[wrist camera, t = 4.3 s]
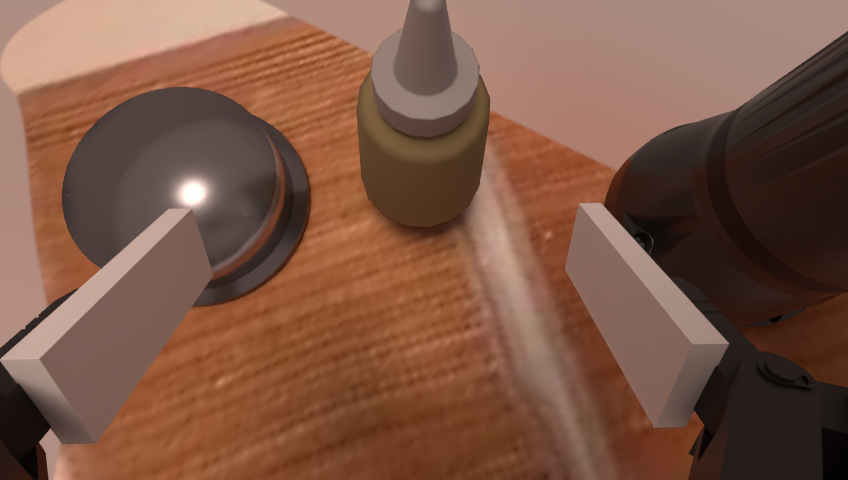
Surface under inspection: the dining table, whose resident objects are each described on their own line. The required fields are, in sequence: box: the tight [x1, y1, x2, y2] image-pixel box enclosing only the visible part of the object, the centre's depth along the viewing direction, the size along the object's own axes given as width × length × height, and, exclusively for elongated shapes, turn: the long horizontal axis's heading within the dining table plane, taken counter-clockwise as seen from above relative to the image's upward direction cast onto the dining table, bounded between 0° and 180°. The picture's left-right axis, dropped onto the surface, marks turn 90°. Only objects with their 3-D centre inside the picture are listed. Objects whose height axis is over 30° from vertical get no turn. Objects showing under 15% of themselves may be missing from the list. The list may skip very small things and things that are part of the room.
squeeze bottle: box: [357, 0, 490, 227], centre depth 22 cm, size 8×8×18 cm
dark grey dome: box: [62, 87, 310, 306], centre depth 28 cm, size 15×15×5 cm
